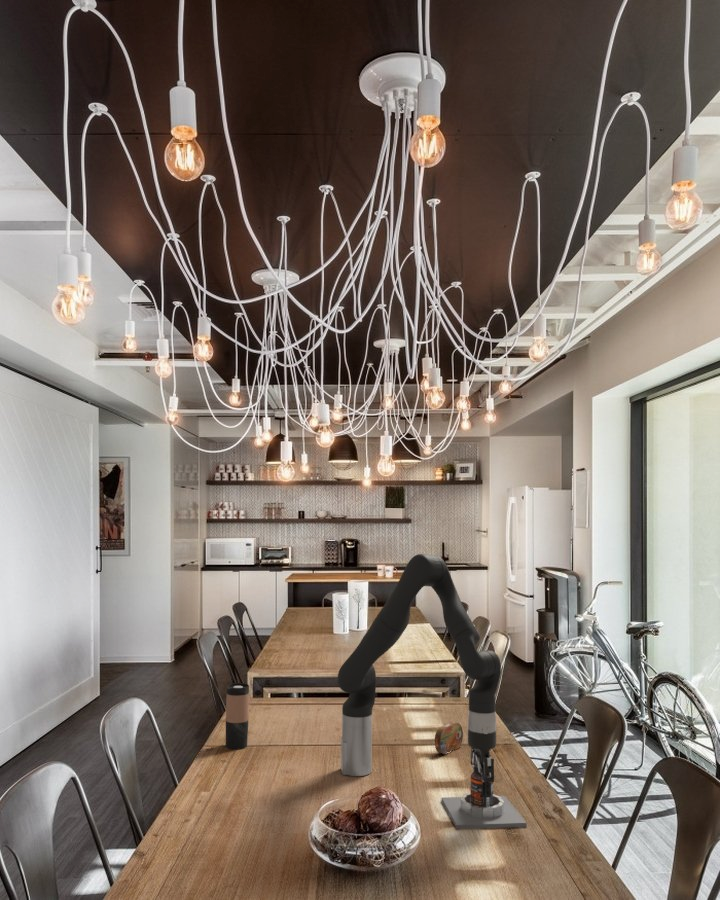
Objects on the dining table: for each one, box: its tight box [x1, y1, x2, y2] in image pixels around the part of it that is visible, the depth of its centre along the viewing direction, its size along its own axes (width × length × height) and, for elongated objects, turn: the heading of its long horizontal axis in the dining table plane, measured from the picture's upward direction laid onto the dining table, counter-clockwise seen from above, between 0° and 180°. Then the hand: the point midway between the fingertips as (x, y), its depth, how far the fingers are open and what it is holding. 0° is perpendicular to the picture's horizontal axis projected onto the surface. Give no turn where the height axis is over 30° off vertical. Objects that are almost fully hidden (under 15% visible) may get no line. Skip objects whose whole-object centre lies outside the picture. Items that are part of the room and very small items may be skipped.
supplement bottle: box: [470, 764, 494, 807], centre depth 193 cm, size 6×6×11 cm
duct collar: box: [460, 791, 504, 818], centre depth 193 cm, size 11×11×2 cm
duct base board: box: [440, 795, 528, 830], centre depth 193 cm, size 18×18×1 cm
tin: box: [434, 722, 464, 755], centre depth 245 cm, size 15×3×8 cm, turn 143°
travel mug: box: [225, 682, 250, 750], centre depth 247 cm, size 8×8×20 cm
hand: (482, 790), depth 193 cm, fingers open, 8 cm apart
